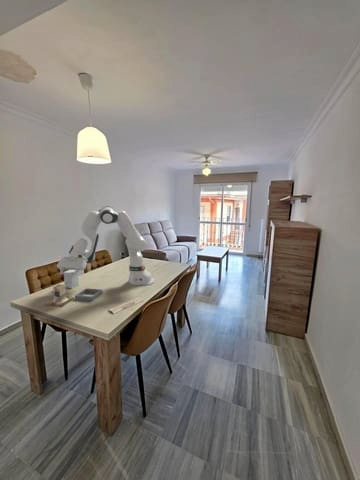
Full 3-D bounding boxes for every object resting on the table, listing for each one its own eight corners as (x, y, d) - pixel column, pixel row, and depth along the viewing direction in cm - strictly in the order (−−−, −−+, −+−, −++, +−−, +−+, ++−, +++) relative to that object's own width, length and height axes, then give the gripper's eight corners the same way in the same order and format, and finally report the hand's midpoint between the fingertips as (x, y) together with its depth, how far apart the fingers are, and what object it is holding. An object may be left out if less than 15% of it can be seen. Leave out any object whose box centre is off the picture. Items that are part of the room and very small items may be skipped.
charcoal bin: (102, 293, 150) (102, 289, 149) (92, 301, 137) (92, 297, 137) (86, 291, 152) (86, 288, 151) (75, 299, 139) (74, 295, 139)
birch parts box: (66, 298, 138) (65, 285, 136) (60, 302, 133) (59, 288, 131) (59, 298, 138) (58, 284, 137) (54, 301, 133) (52, 287, 132)
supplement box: (79, 285, 164) (78, 270, 162) (72, 288, 157) (71, 273, 155) (71, 284, 166) (70, 269, 164) (64, 287, 159) (63, 272, 157)
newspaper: (137, 299, 144) (137, 296, 144) (144, 302, 140) (144, 299, 139) (108, 311, 126) (108, 309, 125) (114, 315, 121) (114, 313, 121)
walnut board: (74, 298, 141) (74, 297, 141) (62, 306, 129) (62, 305, 129) (59, 296, 142) (58, 295, 142) (45, 304, 131) (45, 303, 131)
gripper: (60, 254, 148) (50, 271, 140) (85, 256, 145) (78, 273, 137) (64, 258, 153) (56, 275, 145) (89, 260, 150) (82, 277, 142)
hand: (67, 274), depth 141 cm, fingers open, 8 cm apart
